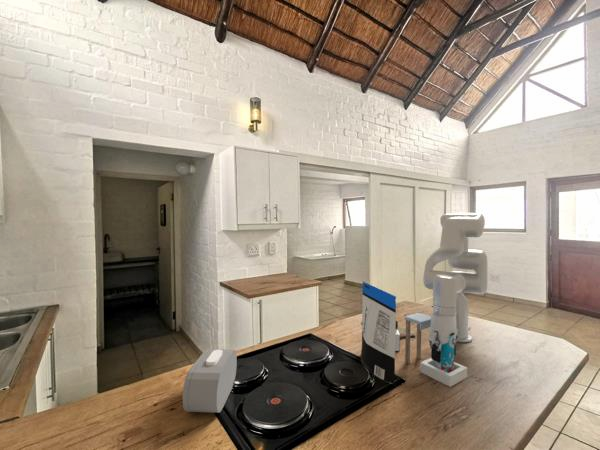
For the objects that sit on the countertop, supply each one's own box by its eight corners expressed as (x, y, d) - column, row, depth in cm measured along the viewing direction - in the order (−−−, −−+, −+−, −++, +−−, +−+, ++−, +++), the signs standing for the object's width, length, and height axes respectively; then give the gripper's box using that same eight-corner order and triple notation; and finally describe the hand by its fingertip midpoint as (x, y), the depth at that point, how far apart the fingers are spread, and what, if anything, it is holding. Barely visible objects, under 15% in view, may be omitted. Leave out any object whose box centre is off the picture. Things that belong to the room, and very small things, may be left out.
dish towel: (389, 321, 155) (389, 317, 155) (416, 338, 133) (416, 333, 133) (361, 324, 151) (361, 319, 151) (384, 342, 128) (384, 336, 128)
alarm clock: (208, 379, 95) (209, 340, 95) (236, 380, 95) (236, 341, 95) (181, 423, 74) (181, 373, 74) (216, 424, 74) (216, 374, 74)
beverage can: (450, 378, 96) (450, 335, 96) (432, 371, 101) (433, 330, 101) (456, 372, 100) (457, 331, 100) (439, 366, 105) (440, 326, 105)
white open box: (419, 356, 114) (420, 312, 114) (467, 377, 98) (467, 326, 98) (402, 363, 108) (403, 316, 108) (450, 387, 92) (451, 333, 92)
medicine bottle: (399, 351, 118) (400, 323, 118) (382, 349, 119) (382, 321, 119) (397, 344, 125) (397, 317, 125) (380, 342, 126) (381, 316, 126)
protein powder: (381, 388, 91) (383, 297, 91) (351, 354, 115) (352, 281, 115) (407, 384, 93) (408, 295, 93) (372, 352, 117) (373, 281, 117)
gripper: (447, 303, 108) (446, 347, 108) (420, 310, 98) (419, 359, 98) (467, 308, 101) (466, 355, 102) (441, 316, 92) (440, 368, 92)
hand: (443, 357), depth 100 cm, fingers open, 9 cm apart
